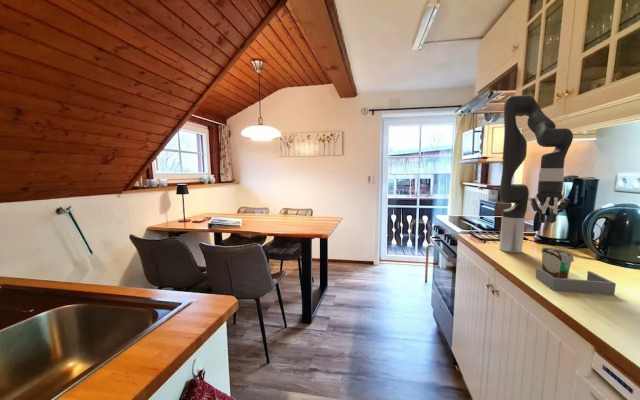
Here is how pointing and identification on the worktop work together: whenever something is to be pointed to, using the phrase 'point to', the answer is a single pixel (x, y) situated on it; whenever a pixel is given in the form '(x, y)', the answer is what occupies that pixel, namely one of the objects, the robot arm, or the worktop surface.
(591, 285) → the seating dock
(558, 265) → the food container
